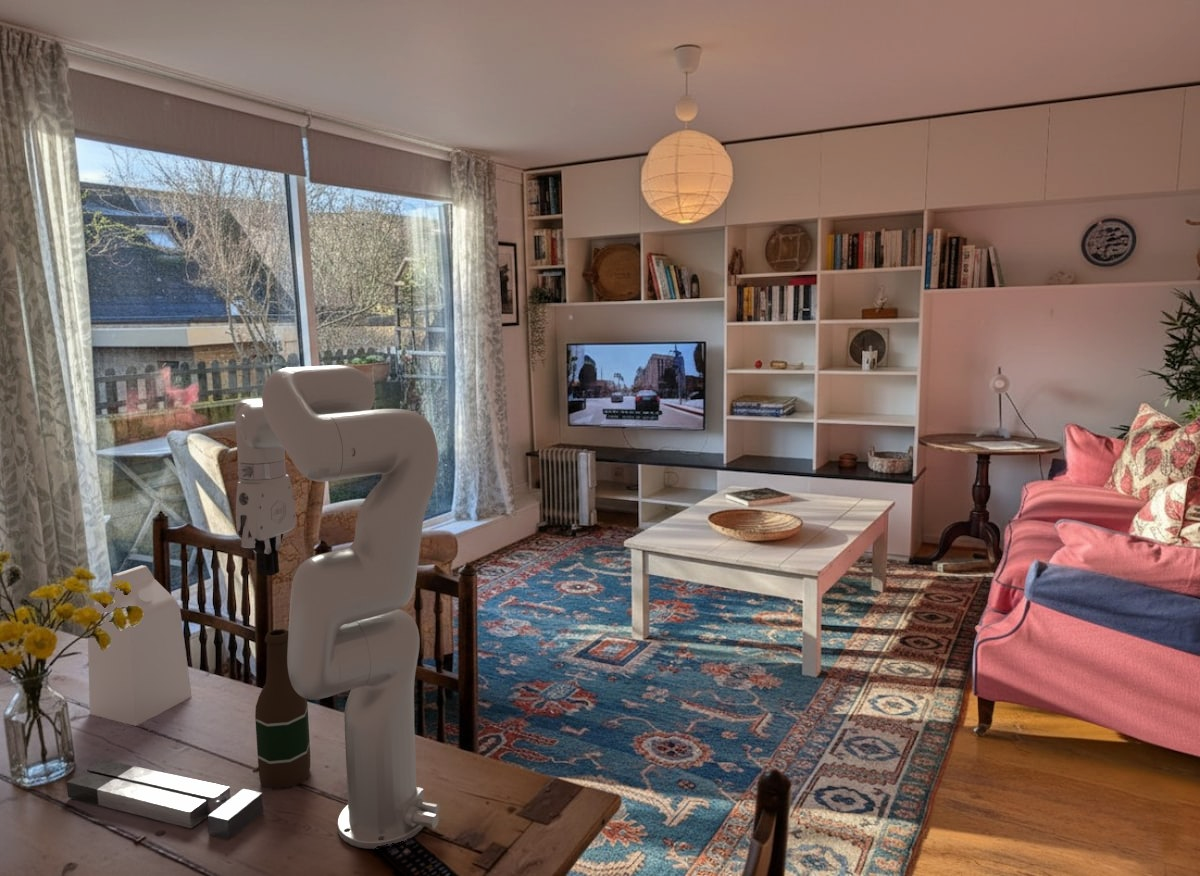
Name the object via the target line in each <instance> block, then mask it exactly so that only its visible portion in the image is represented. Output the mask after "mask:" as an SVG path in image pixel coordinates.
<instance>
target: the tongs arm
mask: <svg viewBox="0 0 1200 876" xmlns="http://www.w3.org/2000/svg"><path fill="white" fill-rule="evenodd" d="M86 772H90V773H94V774H98V775H102V776H106V777H110V778H115V779H119V780H123V781H127V782H131V783H136V784H140V785H144V786H148V787H152V788H157V789H161V790H165V791H169V792H173V793H178V794H182V795H186V796H190V797H194V798H199V799H203V800H206V805H207V813H208V815H209V814H211V813H212V812H213V811H214V810H216V809H217V808H218V807H220V806H221V805H222V804H224V803H225V802H226V801H228V800H229V799H230V798H231V788H230V786H227V785H222V784H218V783H213V782H208V781H204V780H199V779H195V778H191V777H185V776H181V775H178V774H177V775H176V774H171V773H167V772H163V771H158V770H153V769H150V768H149V769H148V768H143V767H139V766H135V765H129V764H125V763H121V762H117V761H111V760H106V759H103V760H101V761H99V762H98V763H96V764H94V765H93V766H91V767H89V768H87V769H86Z"/></svg>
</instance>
